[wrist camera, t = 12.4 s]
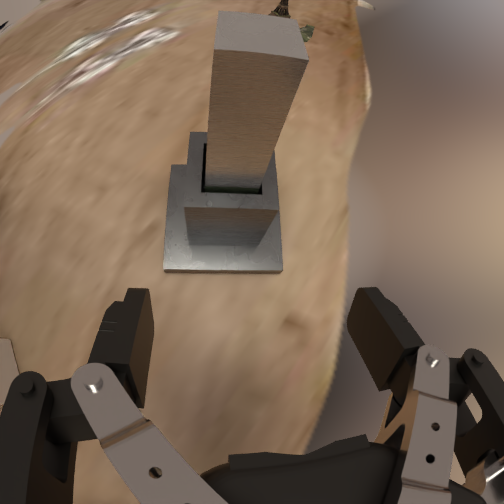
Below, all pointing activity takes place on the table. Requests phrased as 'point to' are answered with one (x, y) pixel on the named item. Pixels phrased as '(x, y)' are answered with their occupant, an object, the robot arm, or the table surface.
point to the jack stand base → (220, 222)
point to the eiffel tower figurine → (305, 31)
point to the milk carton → (6, 368)
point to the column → (250, 96)
